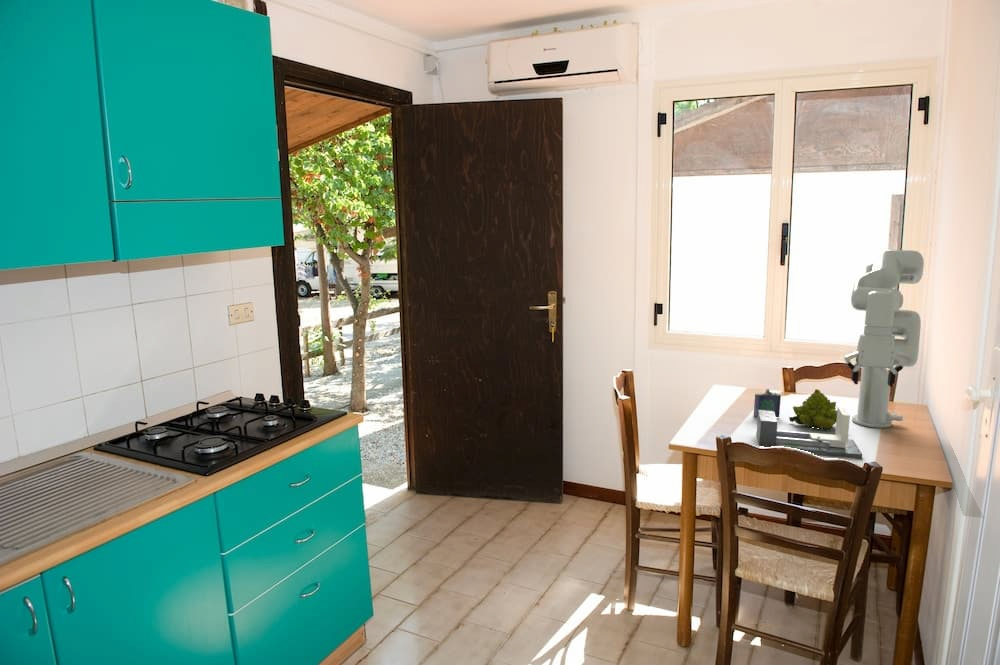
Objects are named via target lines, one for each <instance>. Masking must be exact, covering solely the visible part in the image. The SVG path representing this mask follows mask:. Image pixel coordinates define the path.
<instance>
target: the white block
mask: <svg viewBox="0 0 1000 665" xmlns="http://www.w3.org/2000/svg"><path fill="white" fill-rule="evenodd" d="M836 410H837V419H836V423H835V432H834V433H835V434H828V433H816V432H809V433H810V434H809V440H818V441H819V442H822V441H829V442H830V443H829V446H830V447H841V448H846V443H847V442H848V439H849V429H850V420H851V415H850V413H849V412H848V411H847V409H846V407H843V406H837V408H836Z"/></svg>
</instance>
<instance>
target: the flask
mask: <svg viewBox="0 0 1000 665" xmlns="http://www.w3.org/2000/svg"><path fill="white" fill-rule="evenodd" d="M781 397H782V395H781V394H779V393H776V392H771V391H770V389H769V388H767V389H765V392H764V393H763V392H762V393H758V392H757V393H755V394H754V402H753V403H754V405H753V417H754V418H757V417H758V410H767V411H774V412H775V416H776V417H779V418H780V412H781V408H780V407H781Z"/></svg>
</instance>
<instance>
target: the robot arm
mask: <svg viewBox="0 0 1000 665" xmlns="http://www.w3.org/2000/svg"><path fill="white" fill-rule="evenodd" d="M924 266H925V262H924V258H923V255H922V254H921V252H919V251H917V250H913V249H912V250H909V249H908V250H907V249H905V250H904V249H902V250H901V249H886V250H881V251H879V252H878V253H877V254H876V255H875V257H874V259H872V260H870V261H868V262H867V264H866V267H865V274H864V275H862V276H860V277H859V278H857V280H856V281H855V283H854V285H853V288H852V292H851V296H850V303H851V304H850V305H851V306H852V308H853V309H854V310H857V311H865V318H864V320H865V321H864V328H863V333H860V336H859V338H858V343H857V348H856V351H855V352H853V353H850V354H847V355H845V356H844V357H843V358H844V361H845V362H846V365H847V366H848V368H849V369H851V371H852V372H851V381H852V383H854V385H858V384H859V374H860V373H859V370H860V369H861V371H860V372H861V374H860V384H859V394H858V395H859V396H858V404H857V414H856V415H853V416H851V417H852V418H851V421H852V422H853V423H855V424H857V425H860V426H863V427H867V428H874V429H875V428H876V429H885V428H889V427H890V428H891V427H892V422H893V421H896V422H903V420H904V418H903V415H898V414H896V413H895V414H894V413H890V412H889V406H890V396H891V388H892V387H893V385H895V382H896V375H897V374H899V372H901V371H902V370H903V368H904V367H905V368H906V367H909V368H911V367H913V366H915V365H916V364H917V362H918V359H919V358H918V357H919V348H920V338H921V337H920V336H921V330H922V329H921V325H922V324H921V323H922V322H921V316H920V313H919V312H917V311H915V310H907V309H901V308H902V307H903V304H904V295H903V294H902V291H900V290H899V289H897V288H895V287H897V286H898V284H906V285H909V284H910V285H912V284H913V285H915V284H918V283H919V282H920V281H921V279H922V277H923V274H924V273H923V272H924ZM895 337H900V338H895ZM901 337H902V338H903V339H902V338H901ZM852 359H855V364H853V363H852V362H851V360H852ZM894 366H895V367H894Z"/></svg>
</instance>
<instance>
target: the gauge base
mask: <svg viewBox="0 0 1000 665" xmlns="http://www.w3.org/2000/svg"><path fill="white" fill-rule="evenodd" d="M778 422H779V421H778V418H776V416H775V412H774V411H767V410H758V418H757V422H756V435H755V437H756V436H757V437H756V441H757V445H759V446H764V447H771V446H784V447H791V448H797V449H800V450H804V451H808V452H811V453H814V454H817V455H816V456H824V457H825V456H827V457H834V458H835V457H836V458H845V457H847V458H846V459H857V460H863V453H862V451H861V450H860V448H859V446H858V445H857V444H856V441H855V440H854V439H849V438H848V442H847V443H846V448H841V447H830V446H829V443H830V442H829V441H822V442H819V441H818V440H809V434H810V433H811V432H802V431H791V430H779V429H778ZM759 446H758V447H759Z"/></svg>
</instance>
